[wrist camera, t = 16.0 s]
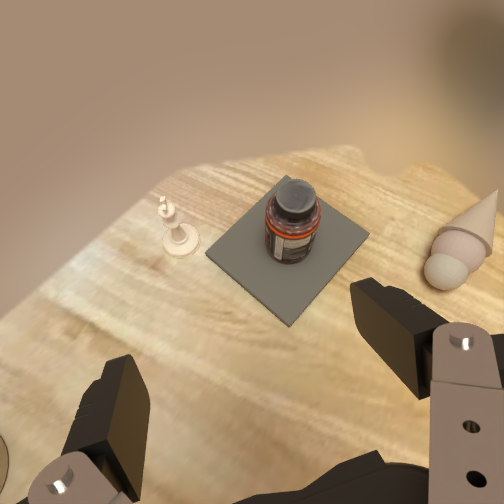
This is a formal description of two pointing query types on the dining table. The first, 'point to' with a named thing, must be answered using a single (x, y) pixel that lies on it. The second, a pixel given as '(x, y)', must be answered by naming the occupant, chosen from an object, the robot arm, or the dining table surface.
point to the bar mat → (280, 274)
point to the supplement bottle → (291, 221)
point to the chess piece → (177, 232)
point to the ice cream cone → (462, 245)
